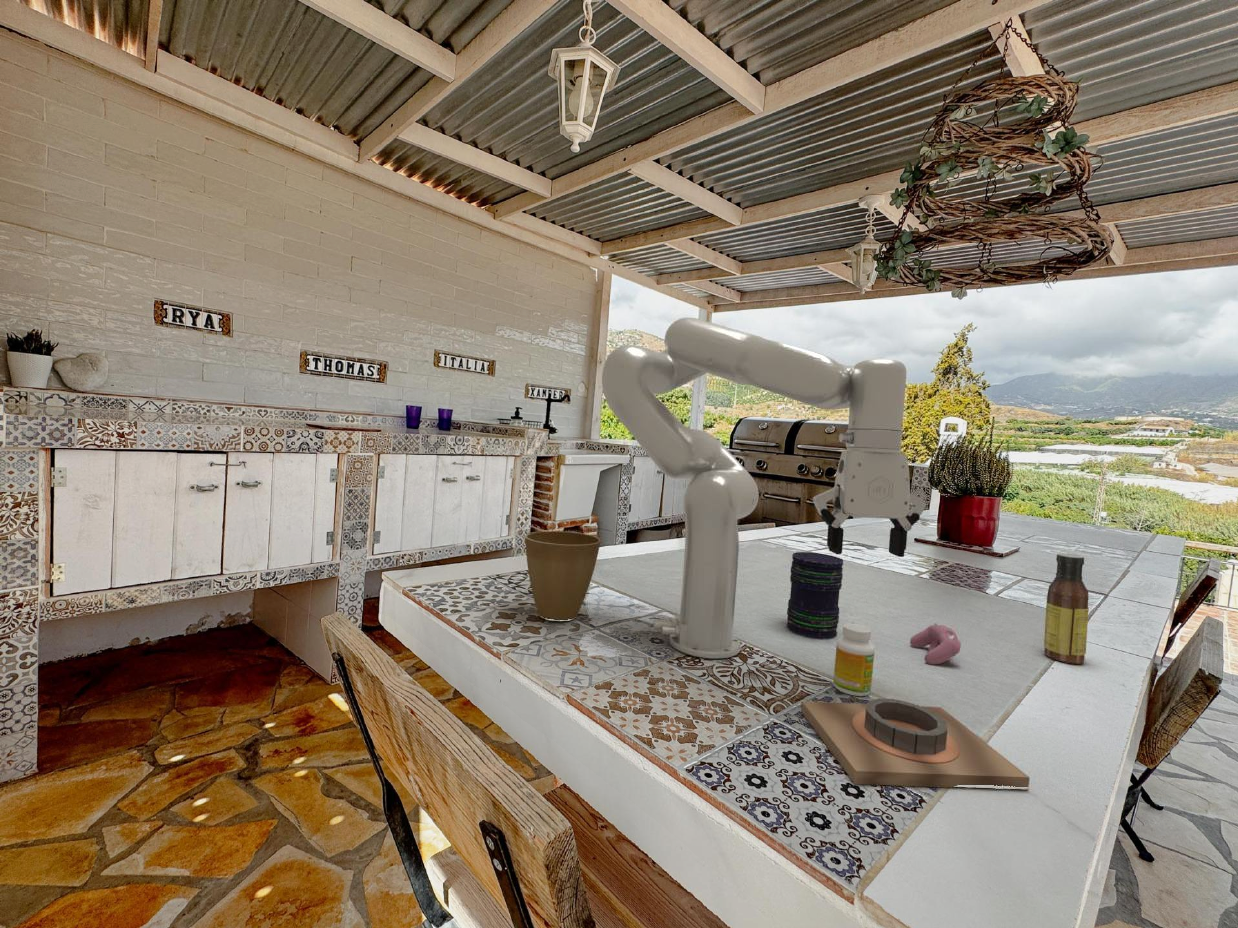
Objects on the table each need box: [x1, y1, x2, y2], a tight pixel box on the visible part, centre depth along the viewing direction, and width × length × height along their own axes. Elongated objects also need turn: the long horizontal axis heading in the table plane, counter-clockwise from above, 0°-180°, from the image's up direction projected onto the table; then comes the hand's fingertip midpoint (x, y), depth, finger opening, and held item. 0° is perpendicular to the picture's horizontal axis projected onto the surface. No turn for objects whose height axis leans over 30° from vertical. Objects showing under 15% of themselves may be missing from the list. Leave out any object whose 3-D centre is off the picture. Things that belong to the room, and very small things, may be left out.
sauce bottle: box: [1043, 552, 1090, 665], centre depth 105 cm, size 7×6×20 cm
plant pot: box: [524, 530, 602, 620], centre depth 110 cm, size 15×15×16 cm
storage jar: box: [786, 551, 844, 640], centre depth 112 cm, size 10×10×15 cm
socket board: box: [800, 698, 1030, 788], centre depth 70 cm, size 20×16×4 cm
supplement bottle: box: [832, 622, 875, 697], centre depth 86 cm, size 5×5×10 cm
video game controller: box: [909, 622, 962, 665], centre depth 102 cm, size 10×5×7 cm, turn 169°
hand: (865, 553), depth 85 cm, fingers open, 9 cm apart
